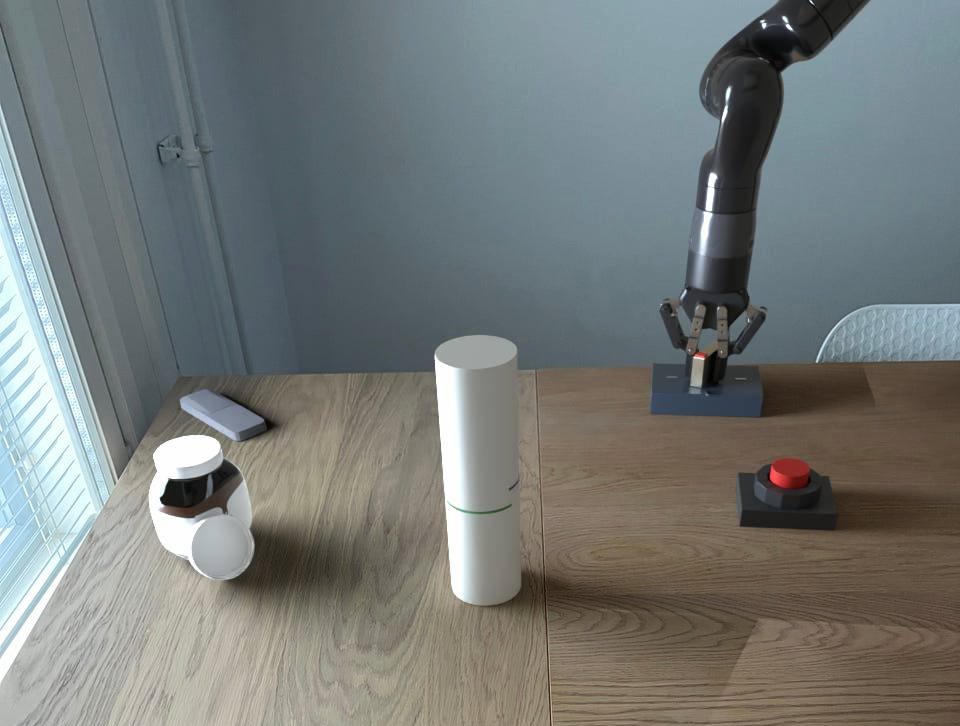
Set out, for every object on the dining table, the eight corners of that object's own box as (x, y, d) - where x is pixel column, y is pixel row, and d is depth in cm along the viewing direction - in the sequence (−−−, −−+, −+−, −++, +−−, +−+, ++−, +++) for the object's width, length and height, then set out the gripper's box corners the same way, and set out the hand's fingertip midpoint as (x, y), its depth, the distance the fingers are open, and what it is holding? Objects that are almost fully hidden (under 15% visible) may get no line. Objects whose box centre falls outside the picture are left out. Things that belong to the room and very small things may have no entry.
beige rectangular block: (710, 368, 131) (714, 338, 128) (721, 371, 130) (725, 340, 127) (690, 385, 127) (693, 354, 124) (701, 388, 126) (704, 357, 124)
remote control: (270, 433, 129) (209, 395, 137) (268, 421, 128) (206, 383, 136) (238, 446, 127) (178, 407, 135) (236, 434, 126) (175, 395, 134)
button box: (825, 492, 112) (831, 461, 109) (834, 531, 105) (841, 499, 103) (735, 488, 113) (739, 458, 110) (739, 526, 107) (743, 495, 104)
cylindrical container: (533, 575, 101) (531, 343, 86) (499, 613, 97) (491, 375, 81) (474, 557, 104) (462, 329, 89) (438, 593, 100) (418, 359, 84)
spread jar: (213, 514, 113) (190, 422, 106) (293, 536, 109) (275, 443, 102) (141, 569, 105) (111, 474, 98) (224, 596, 101) (199, 499, 93)
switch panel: (755, 384, 133) (758, 362, 131) (760, 419, 126) (764, 396, 124) (651, 381, 135) (652, 360, 133) (649, 416, 127) (651, 393, 125)
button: (805, 472, 108) (808, 458, 107) (809, 491, 105) (812, 477, 104) (768, 471, 109) (770, 457, 108) (770, 490, 106) (773, 475, 105)
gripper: (783, 238, 118) (761, 374, 129) (667, 230, 121) (655, 363, 133) (778, 259, 113) (755, 399, 124) (657, 250, 116) (645, 387, 127)
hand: (703, 379), depth 128 cm, fingers closed on beige rectangular block, 2 cm apart
